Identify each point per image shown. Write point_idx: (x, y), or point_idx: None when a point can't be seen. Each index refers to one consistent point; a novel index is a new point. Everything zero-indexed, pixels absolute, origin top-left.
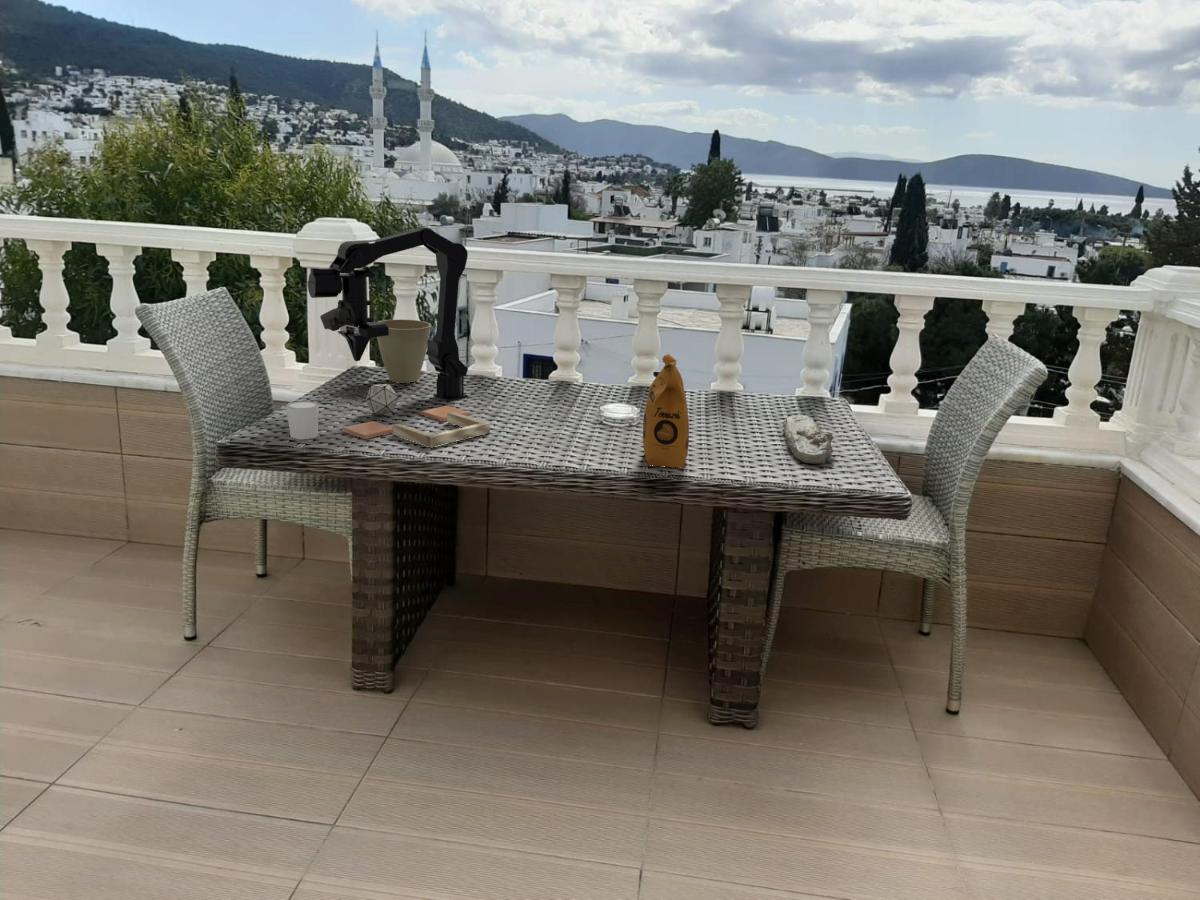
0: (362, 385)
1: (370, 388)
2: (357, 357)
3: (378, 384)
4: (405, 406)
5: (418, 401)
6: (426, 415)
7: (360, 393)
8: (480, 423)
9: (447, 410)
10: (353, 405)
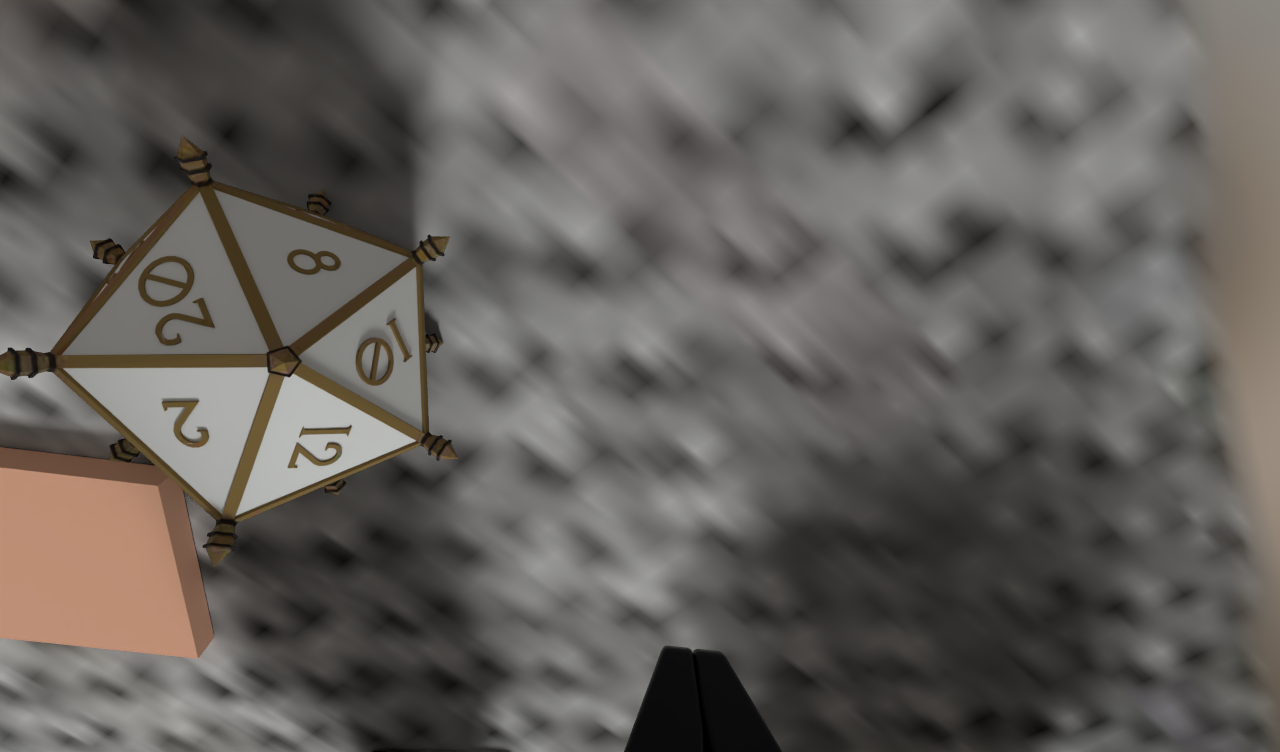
0: (1045, 709)
1: (259, 310)
2: (640, 711)
3: (249, 430)
4: (443, 547)
5: (489, 660)
6: (113, 465)
7: (928, 589)
8: None
9: (79, 590)
10: (737, 350)
